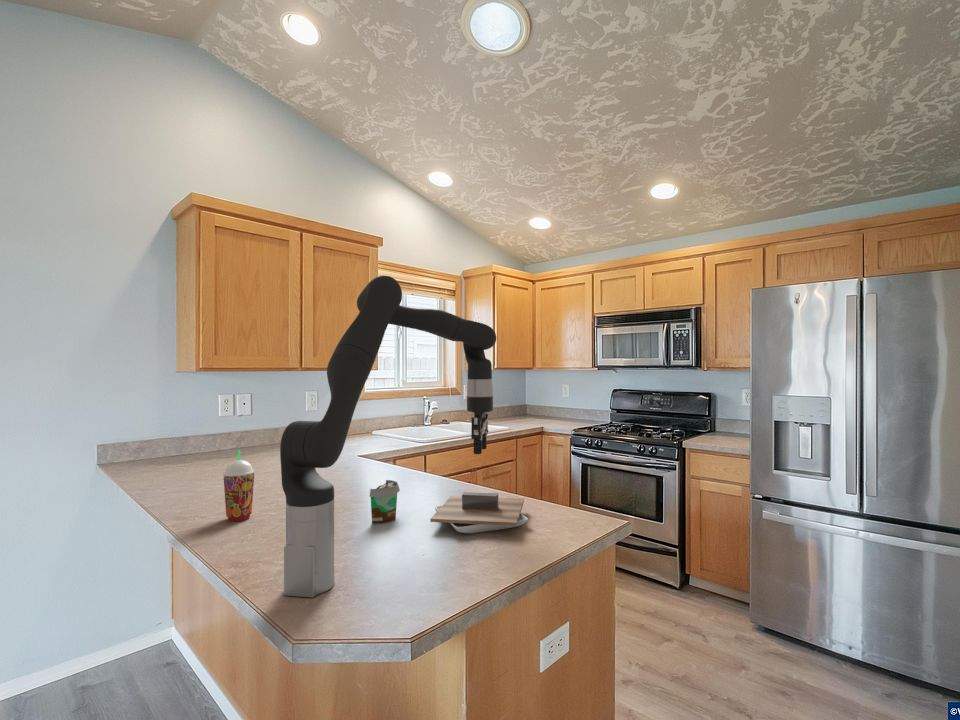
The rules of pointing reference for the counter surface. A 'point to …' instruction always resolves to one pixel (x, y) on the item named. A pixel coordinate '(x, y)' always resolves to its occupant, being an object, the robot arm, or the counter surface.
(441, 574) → the counter surface
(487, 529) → the salad plate
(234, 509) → the smoothie
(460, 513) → the cover board
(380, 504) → the food container
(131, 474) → the counter surface
